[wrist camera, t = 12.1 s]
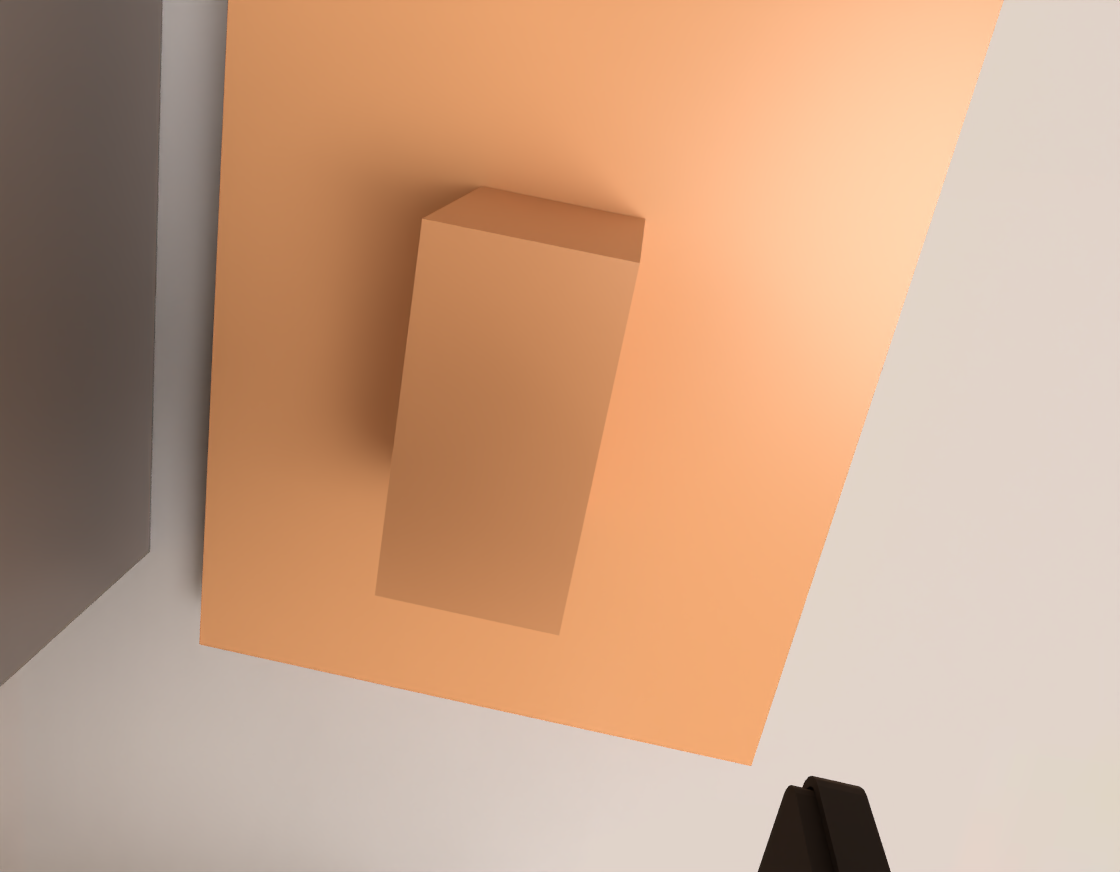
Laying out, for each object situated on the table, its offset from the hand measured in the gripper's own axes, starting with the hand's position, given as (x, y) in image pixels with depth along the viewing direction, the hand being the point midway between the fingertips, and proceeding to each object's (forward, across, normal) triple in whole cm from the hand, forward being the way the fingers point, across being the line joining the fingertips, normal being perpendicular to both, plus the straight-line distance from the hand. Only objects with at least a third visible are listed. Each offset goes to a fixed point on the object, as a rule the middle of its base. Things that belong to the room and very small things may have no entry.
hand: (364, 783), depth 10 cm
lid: (+17, 0, -2) cm, 17 cm away
